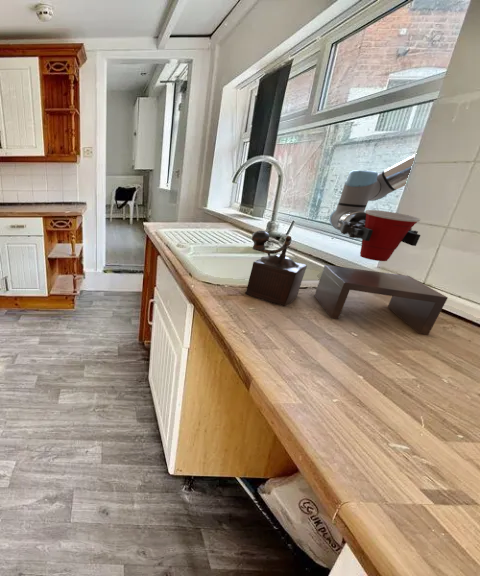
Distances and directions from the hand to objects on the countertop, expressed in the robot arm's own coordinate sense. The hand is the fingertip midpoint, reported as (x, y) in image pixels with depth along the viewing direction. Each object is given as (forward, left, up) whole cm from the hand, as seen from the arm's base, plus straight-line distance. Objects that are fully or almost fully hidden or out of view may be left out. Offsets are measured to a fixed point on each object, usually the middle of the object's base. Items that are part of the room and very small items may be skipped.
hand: (392, 237), depth 76 cm
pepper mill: (+25, +10, -18) cm, 32 cm away
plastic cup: (0, -5, -7) cm, 8 cm away
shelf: (+3, +8, -18) cm, 20 cm away
